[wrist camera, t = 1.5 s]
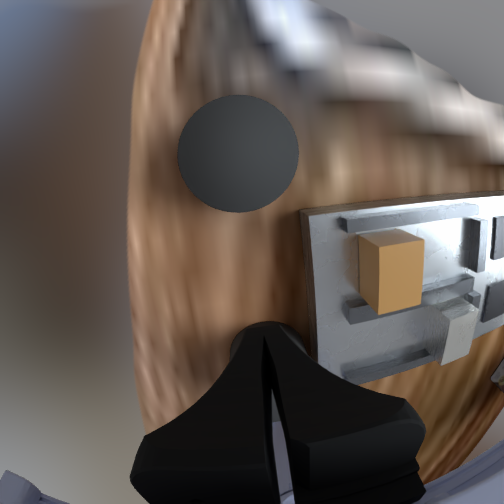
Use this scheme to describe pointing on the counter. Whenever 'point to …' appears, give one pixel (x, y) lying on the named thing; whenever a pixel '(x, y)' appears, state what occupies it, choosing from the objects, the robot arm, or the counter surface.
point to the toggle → (391, 270)
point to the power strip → (433, 288)
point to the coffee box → (499, 376)
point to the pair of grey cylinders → (239, 164)
